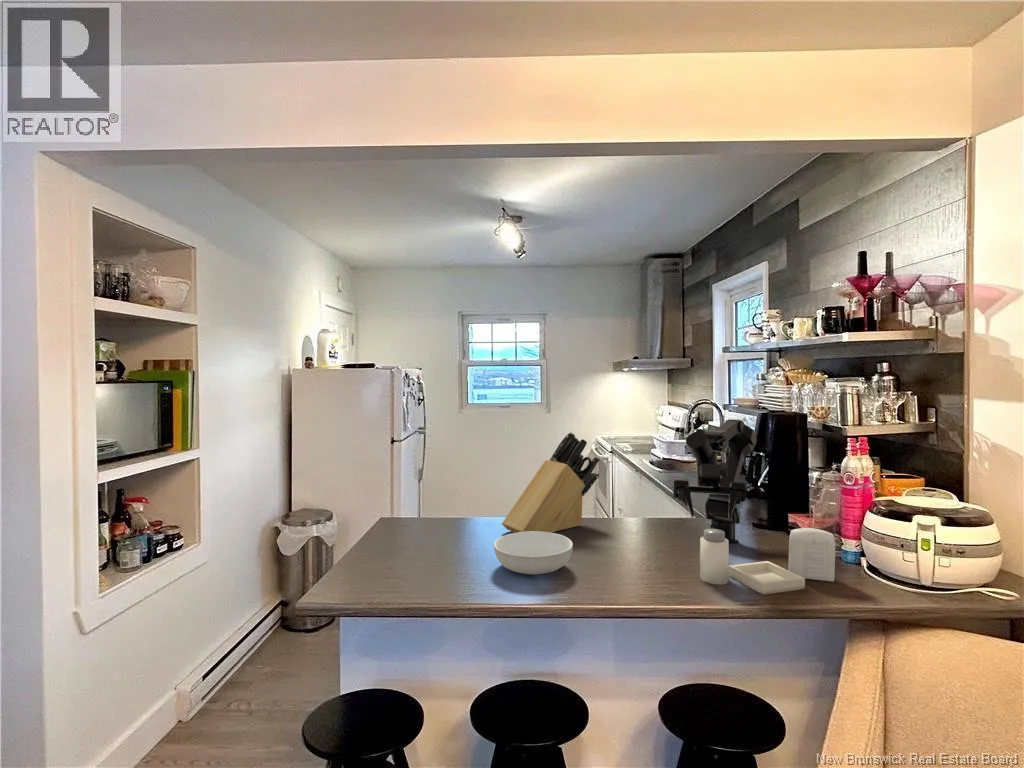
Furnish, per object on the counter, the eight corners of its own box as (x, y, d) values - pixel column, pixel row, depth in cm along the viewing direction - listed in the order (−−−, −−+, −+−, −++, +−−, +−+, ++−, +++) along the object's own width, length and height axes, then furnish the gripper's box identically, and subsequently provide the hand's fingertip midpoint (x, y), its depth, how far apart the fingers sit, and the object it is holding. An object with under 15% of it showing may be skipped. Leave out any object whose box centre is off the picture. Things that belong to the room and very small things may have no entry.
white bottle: (716, 572, 135) (717, 526, 135) (734, 582, 129) (734, 534, 128) (694, 575, 133) (694, 528, 133) (711, 585, 127) (711, 536, 127)
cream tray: (767, 570, 137) (767, 560, 136) (804, 588, 125) (804, 578, 125) (728, 575, 133) (728, 565, 133) (763, 594, 122) (763, 584, 122)
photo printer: (832, 576, 132) (832, 528, 132) (837, 583, 128) (837, 533, 128) (786, 572, 135) (787, 524, 135) (790, 578, 131) (790, 529, 131)
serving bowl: (531, 549, 154) (531, 526, 154) (588, 568, 139) (588, 542, 139) (477, 568, 139) (477, 542, 139) (535, 591, 124) (535, 562, 124)
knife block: (602, 521, 182) (602, 432, 181) (522, 541, 161) (522, 441, 160) (579, 514, 191) (579, 429, 190) (501, 532, 170) (500, 437, 169)
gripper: (673, 450, 145) (674, 499, 135) (746, 452, 140) (753, 503, 130) (672, 473, 153) (673, 521, 143) (741, 476, 148) (748, 526, 138)
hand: (711, 517), depth 138 cm, fingers open, 9 cm apart
